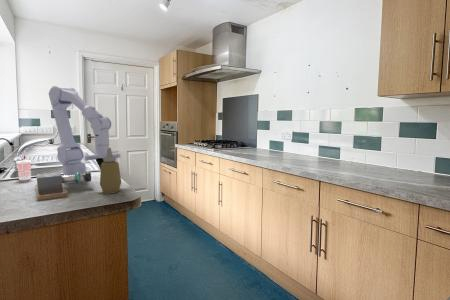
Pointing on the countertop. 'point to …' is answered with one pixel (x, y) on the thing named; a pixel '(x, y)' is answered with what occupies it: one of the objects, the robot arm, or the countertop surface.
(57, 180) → the sharpening stone
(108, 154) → the squeeze bottle
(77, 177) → the shaft
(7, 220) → the countertop surface
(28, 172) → the beverage cup
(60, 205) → the countertop surface
